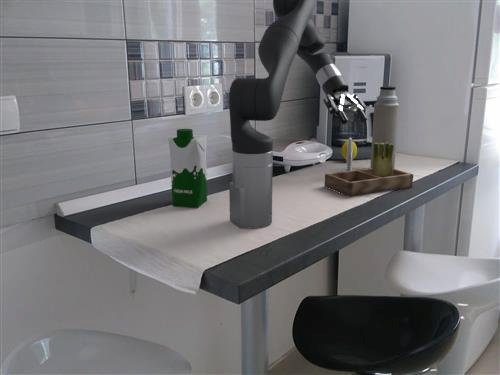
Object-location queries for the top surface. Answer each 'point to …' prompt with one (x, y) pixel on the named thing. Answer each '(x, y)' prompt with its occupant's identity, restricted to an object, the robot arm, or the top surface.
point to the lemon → (344, 150)
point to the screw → (349, 156)
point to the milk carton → (188, 168)
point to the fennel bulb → (382, 160)
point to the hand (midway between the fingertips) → (355, 122)
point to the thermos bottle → (385, 120)
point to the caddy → (367, 182)
